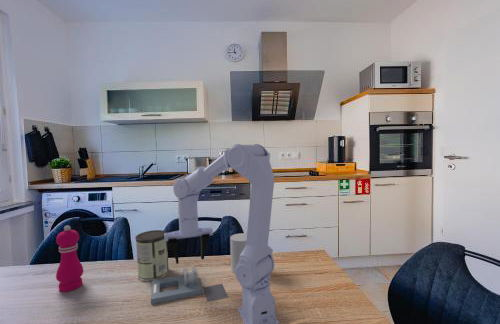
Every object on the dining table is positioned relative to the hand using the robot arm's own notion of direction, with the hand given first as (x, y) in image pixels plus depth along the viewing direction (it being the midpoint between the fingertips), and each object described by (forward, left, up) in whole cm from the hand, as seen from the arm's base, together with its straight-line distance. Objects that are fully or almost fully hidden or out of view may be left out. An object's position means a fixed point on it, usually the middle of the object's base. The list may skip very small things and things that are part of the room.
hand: (190, 260), depth 80 cm
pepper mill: (+15, +37, -9) cm, 40 cm away
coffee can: (+14, +12, -9) cm, 20 cm away
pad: (-6, -6, -9) cm, 12 cm away
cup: (+5, -18, -9) cm, 21 cm away
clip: (0, 0, -7) cm, 7 cm away
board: (0, +5, -9) cm, 10 cm away
